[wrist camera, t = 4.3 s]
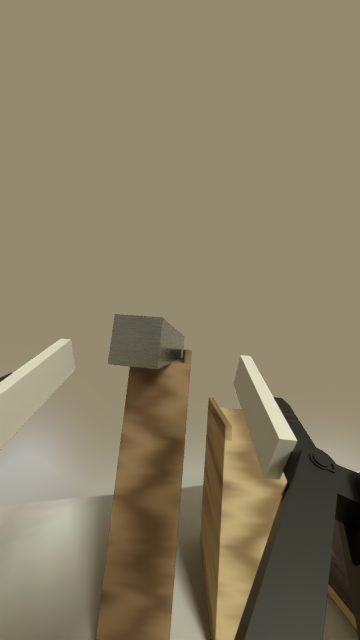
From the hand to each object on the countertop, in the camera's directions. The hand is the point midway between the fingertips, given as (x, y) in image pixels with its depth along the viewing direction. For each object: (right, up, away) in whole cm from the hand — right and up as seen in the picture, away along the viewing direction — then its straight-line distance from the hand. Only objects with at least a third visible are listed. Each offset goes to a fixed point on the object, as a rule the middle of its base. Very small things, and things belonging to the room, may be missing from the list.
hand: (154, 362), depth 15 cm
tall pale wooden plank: (+9, -31, +9) cm, 34 cm away
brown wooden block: (-3, -30, +9) cm, 31 cm away
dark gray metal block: (-1, -2, +11) cm, 11 cm away
